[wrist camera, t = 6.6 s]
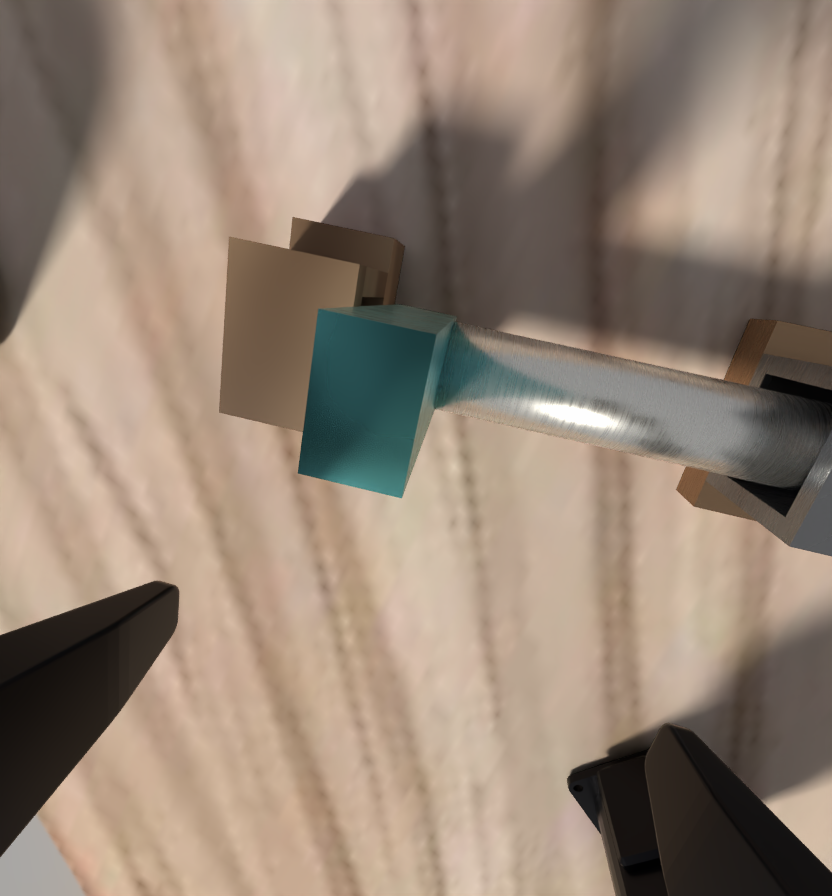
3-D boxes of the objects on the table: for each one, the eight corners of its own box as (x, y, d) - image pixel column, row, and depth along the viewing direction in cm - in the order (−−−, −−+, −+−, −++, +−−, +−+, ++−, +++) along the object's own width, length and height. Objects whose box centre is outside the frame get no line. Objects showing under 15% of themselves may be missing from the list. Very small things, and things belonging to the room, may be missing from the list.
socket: (404, 246, 17) (366, 217, 11) (374, 419, 19) (328, 473, 13) (316, 227, 17) (232, 189, 11) (296, 401, 20) (217, 447, 14)
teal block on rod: (876, 407, 15) (1370, 539, 7) (831, 489, 16) (1211, 692, 8) (330, 289, 16) (174, 276, 8) (319, 373, 17) (171, 443, 9)
